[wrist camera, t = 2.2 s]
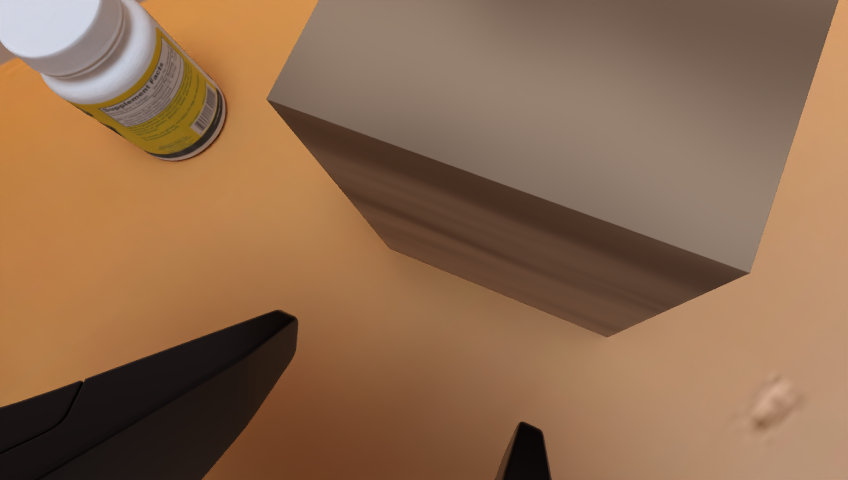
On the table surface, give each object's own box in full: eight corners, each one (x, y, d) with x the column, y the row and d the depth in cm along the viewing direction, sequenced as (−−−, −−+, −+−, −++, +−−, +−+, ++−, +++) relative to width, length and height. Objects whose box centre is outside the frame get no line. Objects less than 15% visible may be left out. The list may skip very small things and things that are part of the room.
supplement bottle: (125, 104, 28) (-31, -12, 19) (207, 58, 28) (85, -77, 20) (156, 181, 26) (3, 90, 18) (243, 132, 26) (128, 21, 18)
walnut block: (607, 337, 22) (749, 272, 9) (390, 248, 24) (266, 98, 11) (684, 127, 23) (892, -167, 11) (475, 62, 25) (449, -246, 13)
